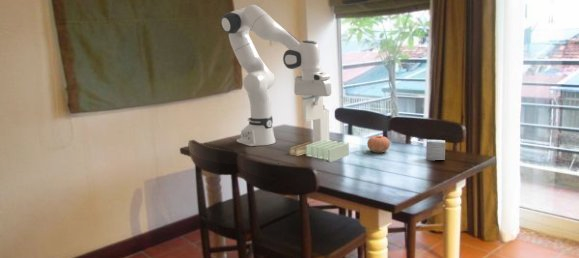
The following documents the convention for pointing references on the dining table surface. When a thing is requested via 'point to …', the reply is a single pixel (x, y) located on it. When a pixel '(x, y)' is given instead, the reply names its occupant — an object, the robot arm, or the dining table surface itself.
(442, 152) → the medicine box
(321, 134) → the milk
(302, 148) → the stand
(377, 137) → the orange rounded piece
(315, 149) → the rack
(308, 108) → the plate
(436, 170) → the dining table surface
